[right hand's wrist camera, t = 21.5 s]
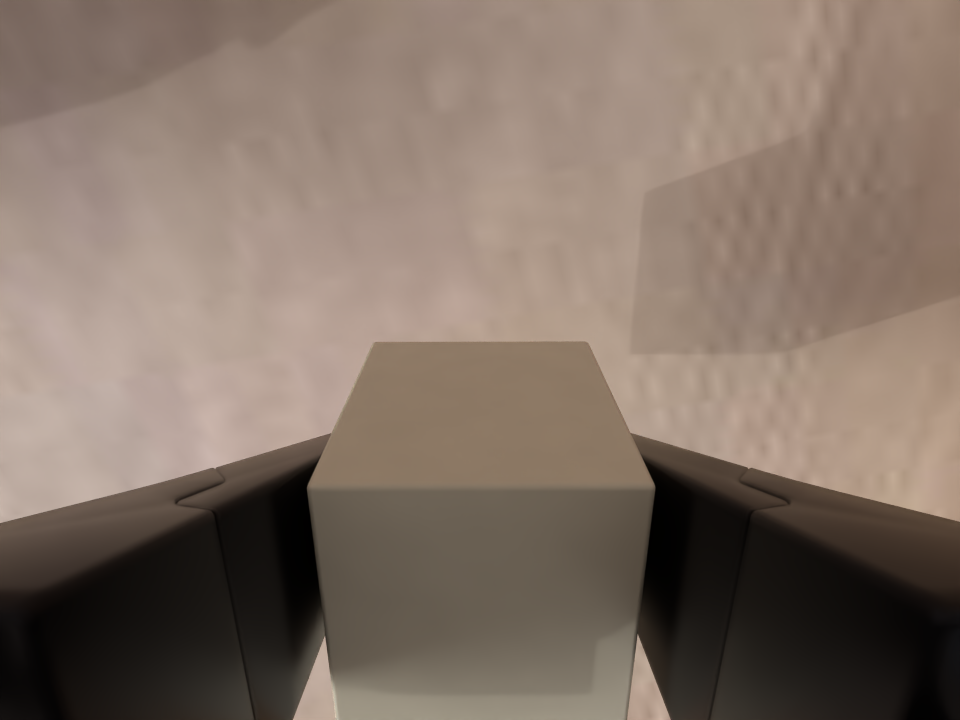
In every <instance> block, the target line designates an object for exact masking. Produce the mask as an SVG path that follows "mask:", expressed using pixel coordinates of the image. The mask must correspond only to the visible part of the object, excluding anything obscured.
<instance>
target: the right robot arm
mask: <svg viewBox="0 0 960 720" xmlns="http://www.w3.org/2000/svg"><path fill="white" fill-rule="evenodd" d="M331 434H332V433H330V434H327V435H324V436H320V437H317V438H314V439H310V440H307V441H304V442H300V443H297V444H294V445H290V446H287V447H284V448H280V449H277V450H273V451H270V452H267V453H263V454H260V455H257V456H253V457H250V458H247V459H243V460H240V461H237V462H233V463H230V464H226V465H223V466H220V467H217V468H216V469H214V468H210V469H207V470H203V471H200V472H197V473H193V474H190V475H186V476H183V477H179V478H175V479H172V480H168V481H165V482H161V483H157V484H153V485H150V486H146V487H142V488H138V489H134V490H130V491H127V492H123V493H119V494H115V495H111V496H107V497H103V498H99V499H95V500H91V501H87V502H83V503H79V504H75V505H71V506H67V507H63V508H59V509H55V510H51V511H47V512H43V513H39V514H35V515H31V516H27V517H23V518H19V519H15V520H11V521H7V522H3V523H0V720H293V718H294V715H295V713H296V710H297V707H298V705H299V702H300V699H301V697H302V694H303V691H304V689H305V686H306V684H307V681H308V678H309V676H310V673H311V670H312V668H313V665H314V663H315V660H316V657H317V655H318V652H319V649H320V647H321V644H322V641H323V639H324V636H325V629H324V621H323V613H322V605H321V597H320V589H319V582H318V574H317V566H316V558H315V550H314V542H313V534H312V526H311V518H310V510H309V502H308V494H307V486H308V483H309V481H310V479H311V477H312V475H313V473H314V470H315V468H316V466H317V464H318V462H319V460H320V457H321V455H322V453H323V451H324V449H325V447H326V444H327V442H328V440H329V438H330V436H331ZM631 435H632V438H633V440H634V442H635V444H636V446H637V448H638V450H639V452H640V455H641V457H642V459H643V461H644V463H645V465H646V467H647V469H648V472H649V474H650V476H651V478H652V480H653V482H654V485H655V496H654V504H653V512H652V520H651V528H650V536H649V545H648V553H647V561H646V569H645V577H644V585H643V593H642V602H641V610H640V618H639V626H638V635H639V638H640V641H641V643H642V646H643V648H644V651H645V654H646V656H647V659H648V661H649V664H650V667H651V669H652V672H653V674H654V677H655V680H656V682H657V685H658V687H659V690H660V693H661V695H662V698H663V700H664V703H665V706H666V708H667V711H668V713H669V716H670V719H671V720H960V522H958V521H954V520H950V519H946V518H942V517H938V516H934V515H930V514H926V513H922V512H918V511H914V510H910V509H906V508H902V507H898V506H894V505H890V504H886V503H882V502H878V501H874V500H870V499H866V498H862V497H858V496H854V495H850V494H846V493H842V492H838V491H834V490H830V489H826V488H822V487H819V486H815V485H811V484H807V483H803V482H800V481H796V480H792V479H789V478H785V477H782V476H778V475H774V474H771V473H767V472H764V471H760V470H757V469H754V468H749V469H748V468H747V467H744V466H741V465H737V464H734V463H730V462H727V461H724V460H720V459H717V458H714V457H710V456H707V455H703V454H700V453H697V452H693V451H690V450H686V449H683V448H680V447H676V446H673V445H670V444H666V443H663V442H659V441H656V440H653V439H649V438H646V437H642V436H639V435H636V434H632V433H631Z"/></svg>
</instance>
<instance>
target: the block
mask: <svg viewBox="0 0 960 720" xmlns="http://www.w3.org/2000/svg"><path fill="white" fill-rule="evenodd" d="M307 494H308V502H309V510H310V518H311V526H312V534H313V542H314V550H315V558H316V566H317V574H318V582H319V589H320V597H321V605H322V613H323V621H324V629H325V637H326V645H327V653H328V661H329V669H330V677H331V684H332V692H333V700H334V708H335V716H336V720H627V716H628V707H629V699H630V691H631V683H632V675H633V667H634V659H635V650H636V642H637V634H638V626H639V618H640V610H641V602H642V593H643V585H644V577H645V569H646V561H647V553H648V545H649V536H650V528H651V520H652V512H653V504H654V496H655V485H654V482H653V480H652V478H651V476H650V474H649V472H648V469H647V467H646V465H645V463H644V461H643V459H642V457H641V455H640V452H639V450H638V448H637V446H636V444H635V442H634V440H633V438H632V435H631V433H630V431H629V429H628V427H627V425H626V423H625V421H624V418H623V416H622V414H621V412H620V410H619V408H618V406H617V404H616V401H615V399H614V397H613V395H612V393H611V391H610V389H609V386H608V384H607V382H606V380H605V378H604V376H603V374H602V372H601V369H600V367H599V365H598V363H597V361H596V359H595V357H594V355H593V352H592V350H591V348H590V346H589V344H588V343H587V342H375V343H373V345H372V347H371V349H370V351H369V353H368V355H367V358H366V360H365V362H364V364H363V366H362V368H361V371H360V373H359V375H358V377H357V379H356V381H355V384H354V386H353V388H352V390H351V392H350V394H349V397H348V399H347V401H346V403H345V405H344V407H343V410H342V412H341V414H340V416H339V418H338V420H337V423H336V425H335V427H334V429H333V431H332V434H331V436H330V438H329V440H328V442H327V444H326V447H325V449H324V451H323V453H322V455H321V457H320V460H319V462H318V464H317V466H316V468H315V470H314V473H313V475H312V477H311V479H310V481H309V483H308V486H307Z"/></svg>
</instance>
